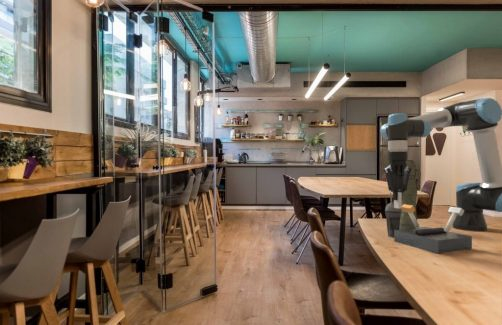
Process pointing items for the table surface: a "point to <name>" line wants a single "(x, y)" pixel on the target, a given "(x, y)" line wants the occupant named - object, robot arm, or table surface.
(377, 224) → the table surface
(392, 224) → the beverage cup
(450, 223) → the white toy hammer
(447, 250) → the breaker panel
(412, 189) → the thermos
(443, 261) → the table surface
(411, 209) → the orange mallet
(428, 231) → the cord bundle
